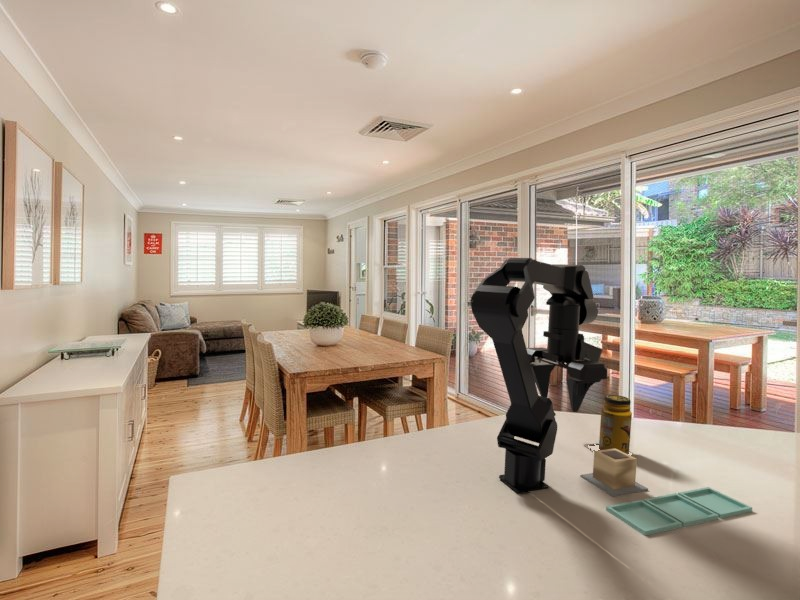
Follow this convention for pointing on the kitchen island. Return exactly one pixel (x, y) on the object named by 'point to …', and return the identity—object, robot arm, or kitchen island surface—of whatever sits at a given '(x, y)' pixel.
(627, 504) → the dish near
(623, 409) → the condiment
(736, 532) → the kitchen island surface
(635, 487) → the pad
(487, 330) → the robot arm
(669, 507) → the dish middle
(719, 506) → the dish far
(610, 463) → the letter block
